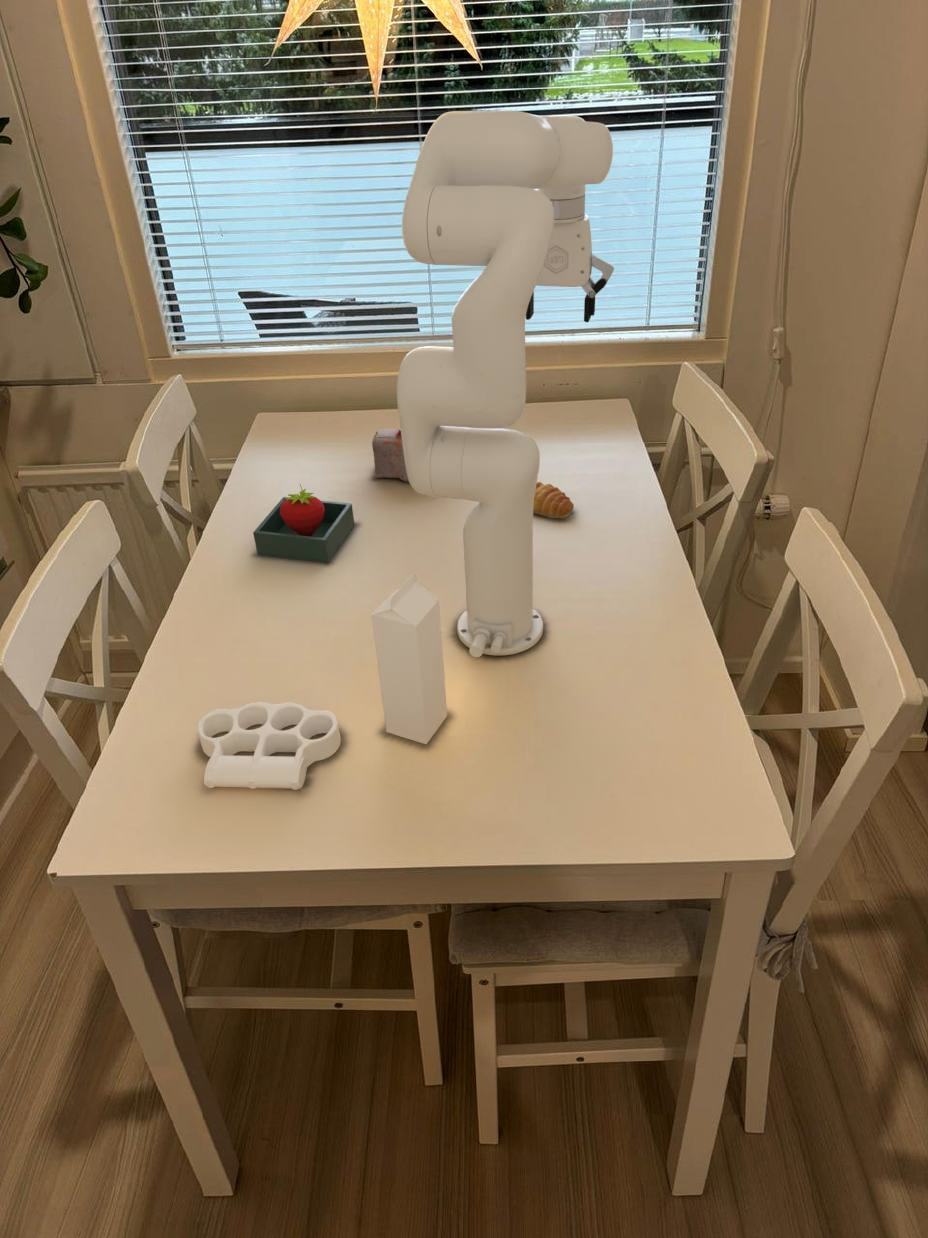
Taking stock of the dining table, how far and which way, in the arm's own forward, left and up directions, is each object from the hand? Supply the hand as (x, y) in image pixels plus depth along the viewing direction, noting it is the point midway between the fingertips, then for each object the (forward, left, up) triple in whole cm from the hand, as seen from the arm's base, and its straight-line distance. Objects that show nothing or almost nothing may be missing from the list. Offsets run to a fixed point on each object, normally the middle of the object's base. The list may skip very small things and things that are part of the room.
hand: (558, 318), depth 153 cm
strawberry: (-27, +39, -31) cm, 56 cm away
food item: (0, +28, -31) cm, 42 cm away
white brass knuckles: (-76, +23, -31) cm, 85 cm away
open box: (-27, +39, -31) cm, 56 cm away
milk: (-67, +6, -31) cm, 74 cm away
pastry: (-8, 0, -31) cm, 32 cm away
